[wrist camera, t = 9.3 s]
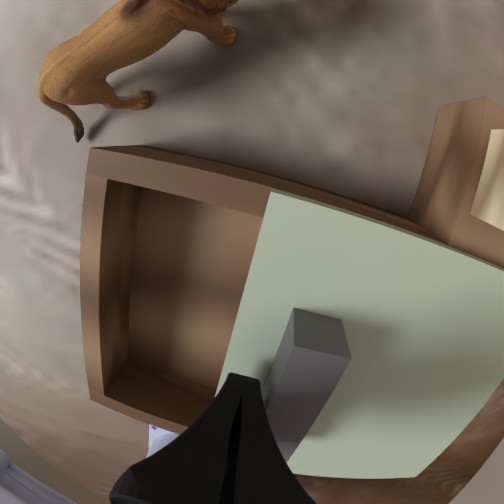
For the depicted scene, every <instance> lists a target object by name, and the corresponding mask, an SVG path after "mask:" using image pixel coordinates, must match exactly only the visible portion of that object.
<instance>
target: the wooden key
mask: <svg viewBox="0 0 504 504" xmlns="http://www.w3.org/2000/svg"><path fill="white" fill-rule="evenodd" d="M470 215H472V216H474V217H476V218H478V219H480V220H482V221H484V222H486V223H488V224H490V225H492V226H494V227H496V228H498V229H500V230H502V231H504V129H491V134H490V139H489V144H488V149H487V153H486V158H485V162H484V166H483V170H482V174H481V178H480V181H479V185H478V188H477V192H476V195H475V199H474V202H473V205H472V208H471V211H470Z"/></svg>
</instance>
